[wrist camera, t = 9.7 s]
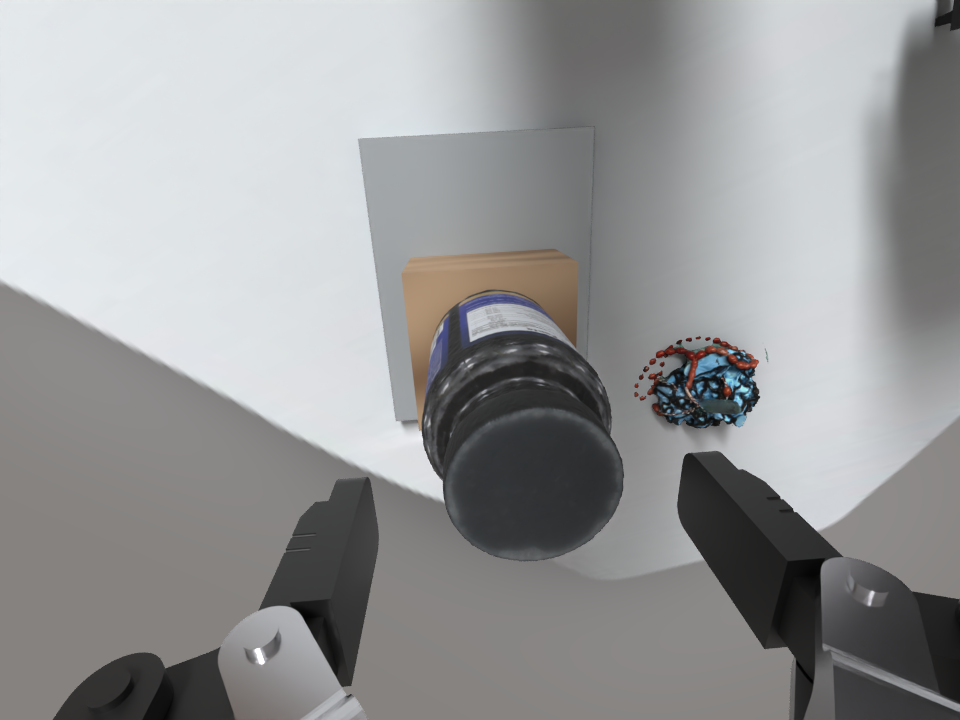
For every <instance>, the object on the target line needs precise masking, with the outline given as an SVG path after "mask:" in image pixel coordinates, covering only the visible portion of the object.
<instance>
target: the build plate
mask: <svg viewBox="0 0 960 720" xmlns="http://www.w3.org/2000/svg"><path fill="white" fill-rule="evenodd" d="M594 128H595V126H593V127H574V128H554V129H535V130H516V131H497V132H478V133H459V134H439V135H420V136H401V137H382V138H363V139H358V142H359V149H360V157H361V164H362V172H363V179H364V187H365V194H366V202H367V209H368V217H369V224H370V231H371V239H372V246H373V254H374V261H375V269H376V276H377V284H378V291H379V299H380V306H381V314H382V321H383V328H384V336H385V343H386V351H387V358H388V366H389V373H390V381H391V388H392V396H393V403H394V411H395V418H396V421H406V420H418V415H417V406H416V397H415V388H414V380H413V371H412V362H411V353H410V345H409V336H408V327H407V318H406V310H405V301H404V292H403V283H402V275H401V273H402V271H403V270H404V268H405V266H406V265H407V263H408V261H409V260H410V258H412V257H428V256H444V255H461V254H477V253H493V252H509V251H526V250H542V249H556V250H558V251H560V252H562V253H563V254H565V255H567V256H568V257H570V258H572V259H574V260H575V261H577V262H578V301H577V342H576V349H577V350H578V352H579V353H580V354H581V355H582V356H583V358H584V359H585V360H586V361H587V338H588V308H589V278H590V248H591V218H592V188H593V158H594Z"/></svg>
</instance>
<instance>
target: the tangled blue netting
mask: <svg viewBox="0 0 960 720" xmlns="http://www.w3.org/2000/svg"><path fill="white" fill-rule="evenodd" d="M700 338H701V337H700V336H699V337H696V339H700ZM710 339H711V338H710V337H707V338H706V339H705V340H706V341H708V340H710ZM686 341H689V342H690V341H692V339H691V338H687V339H686ZM681 342H682V340H679V341H677V342H676V344H679V345H680V346H678V347H676V348H673V345H671V346H669V347H668V348H667V349H666V350H665V351H659V352H657V353H656V358H660V357H663V356H664V357H665V358H666V357H667V356H668V355H673V354H674V353H678V354H685V355H686V357H687V363H686V364H684V365H683V366H682V367H681V368H678V369H676V370H674V371H673V372H671V373H670V374H669V376H668V377H666V378H664V377H663V376H662V371H661V372H659V373H657V374H656V375H655V374H650V375H649V377H648V378H649V379H654V385H652V386H651V387H652V388H651V389H649V391H648V393H647V394H648V395H651V394H656V395H658V396H659V402H658V403H657V404H653V405H652V407H653V409H654V411H656V413H657V415H659V416H665V417H666V420H667V421H668V422H669V423H672V422H673V423H674V424H676V425H680V424H681V422H682V421H683V420H685V421H686V424H687V425H689V426H692V427H695V428H707V427H708V426H709V425H711V426H719V425H720V421H722V420H724V421H725V422H726V423H727V424H731V423H733V424H734V425H735V426H738V427H741V426H743V424H744V422H745V420H746V418H747V416H746V412H751V411H752V407H754V406H755V404H756V403H757V402H758V399H759V398H760V396H758V394H759V389H758V388H757V387H756V383H755V382H754V381H753V380H752V376H754V375H755V374H754V372H755V370H754V369H755V368H756V366H757V364H758V363H759V361H758V360H755V359H754V357H753V356H752V355H751V354H746V352H745V351H744V350H738V348H737V347H736V346H731V345H730V344H728V343H727V342H725V341H722V342H721V341H720V339H719V338H715V339H714V340H713V345H712V346H707V347H704V348H701V349H697V350H693V351H690V350H687V349H685V348H684V347H683V346H682V344H681ZM765 350H766V349H765ZM766 354H767V352H766ZM766 359H767V360H768V356H766ZM655 363H656V359H651V360H650V362H649V364H650V365H653V364H655ZM664 365H665V364H664V362H661V363H660V366H661V367H663V366H664ZM648 370H649V367H648V366H645V368H644V369H643V371H644V372H647V371H648ZM657 376H661V377H660V378H657ZM643 378H644V377H643V374H642V375H640V376H639V379H640V380H642V379H643ZM635 388H638V383H637V384H635ZM634 394H635V397H637V396H638V393H637V392H635V393H634ZM645 398H646V396H645V397H643V396H642V397H640V400H644V399H645ZM732 426H733V425H732Z"/></svg>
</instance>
